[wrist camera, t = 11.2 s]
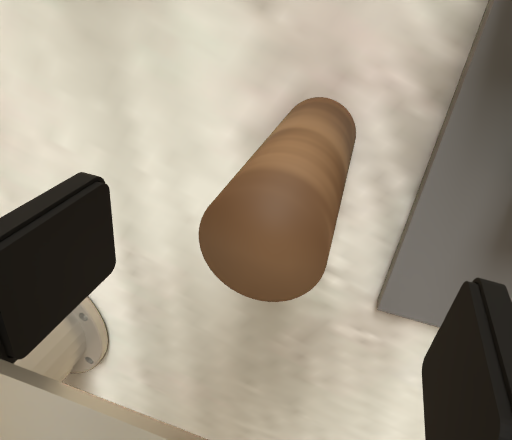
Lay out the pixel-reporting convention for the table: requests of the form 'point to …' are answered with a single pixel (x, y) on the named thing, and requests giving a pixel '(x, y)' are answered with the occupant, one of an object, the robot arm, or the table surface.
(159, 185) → the table surface
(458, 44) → the table surface
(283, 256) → the walnut dowel
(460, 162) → the board
